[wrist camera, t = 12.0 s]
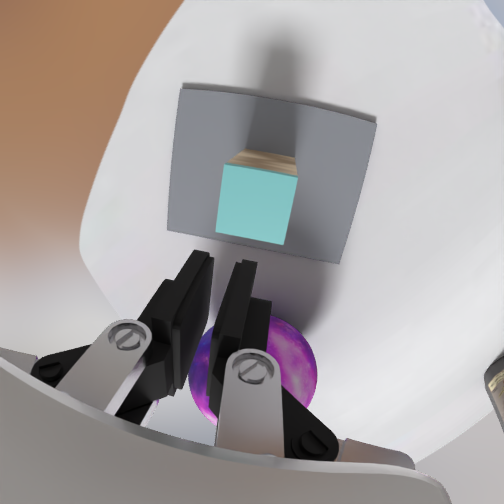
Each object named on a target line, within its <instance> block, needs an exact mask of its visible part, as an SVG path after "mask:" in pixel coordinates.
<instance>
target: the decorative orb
mask: <svg viewBox="0 0 504 504" xmlns="http://www.w3.org/2000/svg"><path fill="white" fill-rule="evenodd" d="M213 328H214V326H213V327H211V328H210V329H209V330H208V331H207V332H206V333H205V334H204V335H203V336H202V337H201V340H200V342H199V345H198V348H197V351H196V353H195V356H194V359H193V361H192V364H191V367H190V369H189V372H188V377H189V378H188V380H189V386H190V391H191V394H192V397H193V399H194V401H195V403H196V405H197V406H198V408H199V410H200V411H201V412H202V413H203V414H204V416H205V417H206V418H207V419H208V420H210V421H211V422H212V423H213V424H215V425H216V426H217V417H216V416H215V415H214V414H213V412H212V411H211V410H210V409H209V407H208V406H209V396H206V388H207V376H208V366H209V355H210V345H211V337H212V332H213ZM266 353H268V354H269V355H271V356H272V357H273V358H274V359H275V360H276V361H277V363H278V364H279V368H280V374H281V385H282V386H283V387H284V388H285V389H287V390H288V391H289V392H290V393H291V394H292V395H293V396H294V397H295V398H296V399H297V400H298V401H299V402H300V403H301V404H302V405H303V406H304V407H306V408H307V407H308V406H309V404H310V402H311V400H312V398H313V395H314V392H315V389H316V384H317V366H316V361H315V357H314V354H313V352H312V349H311V347H310V345H309V344H308V342H307V341H306V339H305V338H304V337H303V336H302V334H301V333H300V332H299V331H298V330H297V329H295V328H294V327H293V326H292V325H290V324H289V323H287V322H285V321H283V320H281V319H279V318H277V317H274V316H271V315H270V324H269V333H268V341H267V350H266Z"/></svg>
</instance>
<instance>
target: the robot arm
mask: <svg viewBox="0 0 504 504" xmlns="http://www.w3.org/2000/svg"><path fill="white" fill-rule="evenodd" d="M257 263H258V262H254V261H249V260H244V259H243V260H242V263H238V262H236V264H235V267H234V269H233V272H232V275H231V278H230V281H229V284H228V287H227V290H226V292H225V295H224V298H223V301H222V304H221V307H220V310H219V313H218V316H217V319H216V321H215V324H214V328H213V332H212V337H211V345H210V355H209V366H208V376H207V388H206V396H209V406H208V407H209V409H210V410H211V411H212V412H213V414H214V415H215V416H216V417H217V426H216V435H215V443H214V446H209V445H205V444H201V443H197V442H193V441H189V440H185V439H181V438H178V437H174V436H171V435H167V434H164V433H161V432H158V431H155V430H151V429H148V428H146V426H147V424H148V422H149V420H150V418H151V416H152V415H153V413H154V411H155V409H156V407H157V405H158V402H159V399H161V398H164V397H166V396H167V395H170V396H174V394H175V392H176V389H182V388H183V386H184V383H185V380H186V378H187V375H188V372H189V369H190V367H191V364H192V361H193V359H194V356H195V353H196V351H197V348H198V345H199V342H200V340H201V337H202V334H203V332H204V329H205V326H206V324H207V320H208V315H209V305H210V295H211V285H212V276H213V267H214V257H210V254H209V252H204V251H199V250H194V251H193V252H192V254H191V255H190V257H189V258H188V260H187V261H186V263H185V264H184V266H183V267H182V269H181V270H180V272H179V273H178V275H177V277H176V278H175V280H169V279H165V280H164V281H163V282H162V284H161V285H160V287H159V288H158V290H157V291H156V293H155V294H154V296H153V297H152V298H151V300H150V301H149V303H148V304H147V306H146V307H145V309H144V310H143V312H142V313H141V315H140V317H139V318H138V320H132V319H124V320H119V321H116V322H114V323H112V324H110V326H108V327H107V328H106V329H105V330H104V331H103V332H102V334H101V335H100V336H99V337H98V338H97V339H96V340H95V342H93V344H90V345H86V346H83V347H79V348H75V349H71V350H67V351H63V352H59V353H55V354H51V355H47V356H45V357H42V358H41V359H38V358H37V356H35V355H30V354H26V353H21V352H17V351H12V350H8V349H4V348H0V504H452V503H451V500H450V498H449V495H448V493H447V491H446V489H445V488H444V487H443V486H442V484H441V483H440V482H438V481H437V480H436V479H434V478H432V477H431V476H429V475H426V474H424V473H421V472H418V471H415V464H414V462H413V460H412V459H411V458H410V457H409V456H408V455H407V454H405V453H402V452H400V451H395V450H391V449H386V448H382V447H378V446H374V445H370V444H366V443H362V442H359V441H355V440H352V439H348V438H347V439H346V440H345V441H344V440H340V439H337V438H336V436H335V435H334V433H333V432H332V431H331V430H330V429H329V428H328V427H326V426H325V425H324V424H323V423H322V422H321V421H320V420H319V419H318V418H316V417H315V416H314V415H313V414H312V413H311V412H310V411H309V410H308V409H307V408H306V407H304V406H303V405H302V404H301V403H300V402H299V401H298V400H297V399H296V398H295V397H294V396H293V395H292V394H291V393H290V392H289V391H288V390H287V389H285V388H284V387H283V386H282V385H281V374H280V368H279V364H278V363H277V361H276V360H275V359H274V358H273V357H272V356H271V355H269V354H268V353H266V350H267V341H268V333H269V324H270V315H271V305H272V301H268V300H262V299H257V298H252V297H251V293H252V288H253V283H254V278H255V273H256V268H257Z"/></svg>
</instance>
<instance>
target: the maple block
mask: <svg viewBox="0 0 504 504" xmlns="http://www.w3.org/2000/svg"><path fill="white" fill-rule="evenodd" d="M297 180H298V175H297V169H296V162H295V158H293V157H288V156H283V155H278V154H273V153H268V152H262V151H256V150H250V149H244V150H242V151H241V152H240V153H238V154H237V155H236V156H234V157H233V158H232V159H230V160H229V161H228V162H227V163H225V164H224V168H223V176H222V183H221V191H220V198H219V206H218V214H217V223H216V231H215V232H219V233H224V234H229V235H234V236H239V237H245V238H250V239H255V240H260V241H265V242H270V243H275V244H280V245H283V244H284V240H285V236H286V231H287V227H288V222H289V218H290V213H291V208H292V204H293V199H294V195H295V190H296V185H297Z"/></svg>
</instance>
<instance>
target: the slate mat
mask: <svg viewBox="0 0 504 504" xmlns="http://www.w3.org/2000/svg"><path fill="white" fill-rule="evenodd" d="M376 127H377V124H376V123H373V122H369V121H366V120H363V119H359V118H356V117H352V116H349V115H345V114H341V113H337V112H333V111H329V110H325V109H321V108H317V107H312V106H308V105H303V104H298V103H293V102H288V101H283V100H277V99H271V98H265V97H259V96H252V95H245V94H237V93H228V92H219V91H208V90H195V89H180V94H179V101H178V109H177V116H176V124H175V133H174V142H173V152H172V162H171V174H170V187H169V202H168V220H167V230H168V231H173V232H178V233H184V234H189V235H194V236H199V237H204V238H209V239H214V240H219V241H224V242H230V243H235V244H240V245H245V246H250V247H255V248H260V249H265V250H270V251H275V252H280V253H285V254H290V255H295V256H300V257H305V258H310V259H315V260H320V261H325V262H330V263H335V264H339V263H340V260H341V257H342V253H343V250H344V247H345V244H346V241H347V238H348V234H349V231H350V228H351V225H352V221H353V218H354V214H355V211H356V207H357V204H358V200H359V197H360V193H361V189H362V185H363V182H364V178H365V174H366V170H367V166H368V162H369V158H370V154H371V149H372V145H373V141H374V136H375V132H376ZM244 149H250V150H256V151H262V152H268V153H273V154H278V155H283V156H288V157H293V158H295V162H296V169H297V175H298V180H297V185H296V190H295V195H294V199H293V204H292V208H291V213H290V218H289V222H288V227H287V231H286V236H285V240H284V244H283V245H280V244H275V243H270V242H265V241H260V240H255V239H250V238H245V237H239V236H234V235H229V234H224V233H219V232H215V231H216V223H217V214H218V206H219V198H220V191H221V183H222V176H223V168H224V164H225V163H227V162H228V161H229V160H230V159H232V158H233V157H234V156H236V155H237V154H238V153H240V152H241V151H242V150H244Z"/></svg>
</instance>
